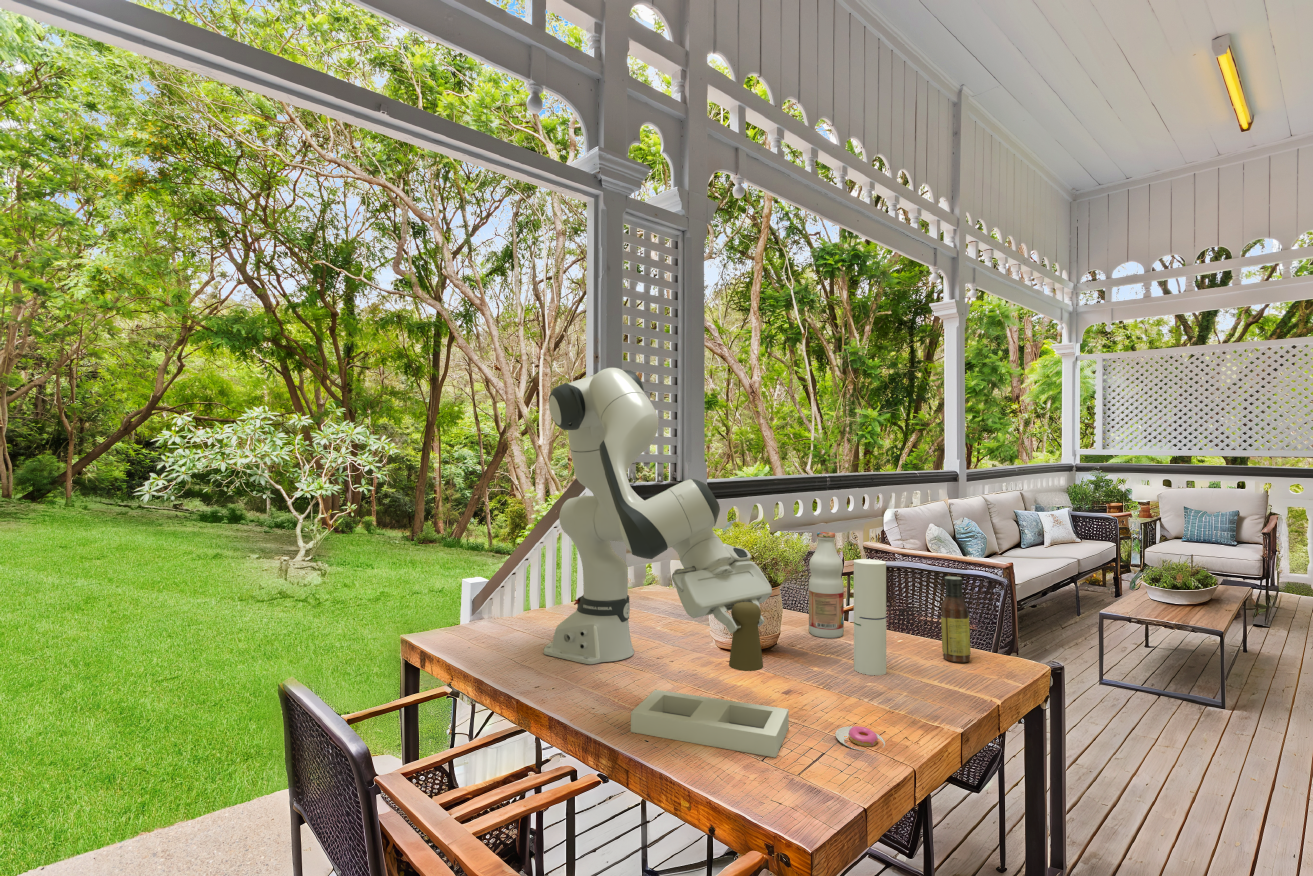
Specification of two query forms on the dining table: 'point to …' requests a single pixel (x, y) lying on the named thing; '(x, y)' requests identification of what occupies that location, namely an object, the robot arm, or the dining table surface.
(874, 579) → the cylindrical container
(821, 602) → the fruit juice
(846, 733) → the donut
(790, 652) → the dining table surface
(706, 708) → the socket rail
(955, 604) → the sauce bottle
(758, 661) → the olive knobbed peg
